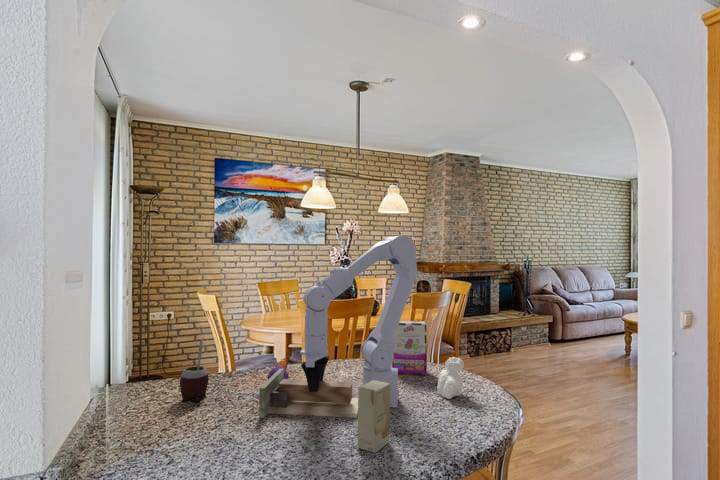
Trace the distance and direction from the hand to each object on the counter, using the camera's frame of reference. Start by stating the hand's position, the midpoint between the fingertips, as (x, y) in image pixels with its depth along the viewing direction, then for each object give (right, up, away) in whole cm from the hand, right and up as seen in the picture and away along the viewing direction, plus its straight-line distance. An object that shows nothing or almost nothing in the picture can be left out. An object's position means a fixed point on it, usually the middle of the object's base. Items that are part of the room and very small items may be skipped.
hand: (315, 388), depth 105 cm
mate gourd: (-33, -5, +5) cm, 33 cm away
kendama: (-13, -6, +22) cm, 26 cm away
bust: (+36, -6, +10) cm, 38 cm away
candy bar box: (+27, -6, +30) cm, 41 cm away
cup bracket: (0, -5, 0) cm, 5 cm away
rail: (0, -3, 0) cm, 3 cm away
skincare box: (+14, -5, -20) cm, 25 cm away
